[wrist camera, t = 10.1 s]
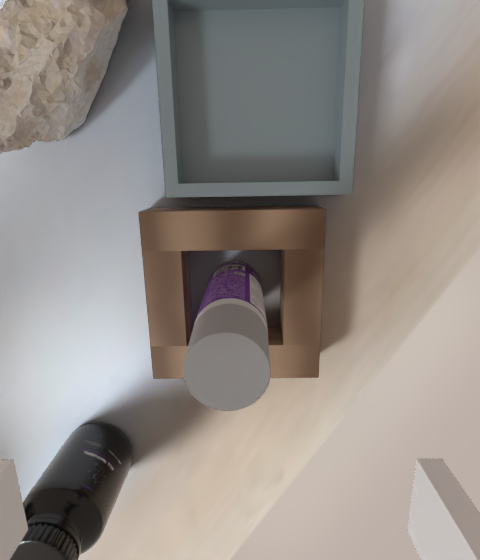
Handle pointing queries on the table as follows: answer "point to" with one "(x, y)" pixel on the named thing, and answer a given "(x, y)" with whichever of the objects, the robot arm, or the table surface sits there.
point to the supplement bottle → (75, 494)
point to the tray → (258, 95)
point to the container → (229, 341)
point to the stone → (52, 65)
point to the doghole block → (235, 236)
